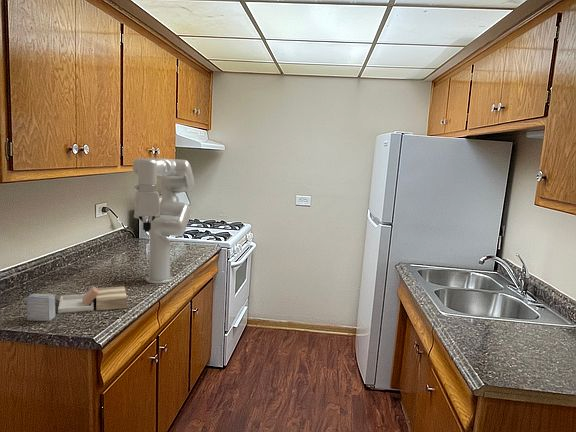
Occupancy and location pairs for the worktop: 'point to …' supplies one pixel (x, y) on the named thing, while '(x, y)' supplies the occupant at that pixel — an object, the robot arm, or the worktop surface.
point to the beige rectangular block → (111, 298)
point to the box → (74, 304)
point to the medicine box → (41, 307)
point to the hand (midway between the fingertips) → (146, 231)
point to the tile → (90, 295)
